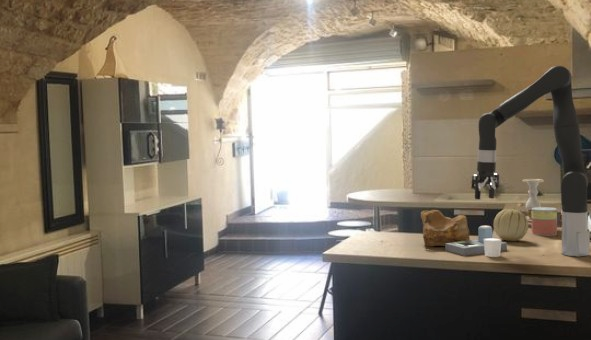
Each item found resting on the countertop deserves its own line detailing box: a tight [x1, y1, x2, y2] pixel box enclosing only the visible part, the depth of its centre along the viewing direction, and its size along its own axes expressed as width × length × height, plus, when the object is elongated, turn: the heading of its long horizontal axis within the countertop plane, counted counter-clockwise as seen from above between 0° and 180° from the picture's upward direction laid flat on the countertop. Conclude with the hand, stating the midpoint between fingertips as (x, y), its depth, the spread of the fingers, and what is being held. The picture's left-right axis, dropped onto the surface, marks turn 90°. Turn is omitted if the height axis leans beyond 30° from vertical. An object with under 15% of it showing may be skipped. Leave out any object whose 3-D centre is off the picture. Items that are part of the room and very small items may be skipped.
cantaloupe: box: [493, 207, 529, 242], centre depth 269 cm, size 15×15×15 cm
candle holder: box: [521, 178, 545, 229], centre depth 306 cm, size 11×11×24 cm
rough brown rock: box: [420, 209, 471, 248], centre depth 262 cm, size 23×17×15 cm
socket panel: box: [444, 239, 508, 257], centre depth 249 cm, size 12×22×4 cm, turn 113°
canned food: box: [531, 206, 558, 237], centre depth 285 cm, size 11×11×12 cm
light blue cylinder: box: [477, 224, 493, 243], centre depth 251 cm, size 4×4×10 cm
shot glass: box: [483, 237, 502, 258], centre depth 238 cm, size 7×7×7 cm
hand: (484, 198), depth 254 cm, fingers open, 8 cm apart
